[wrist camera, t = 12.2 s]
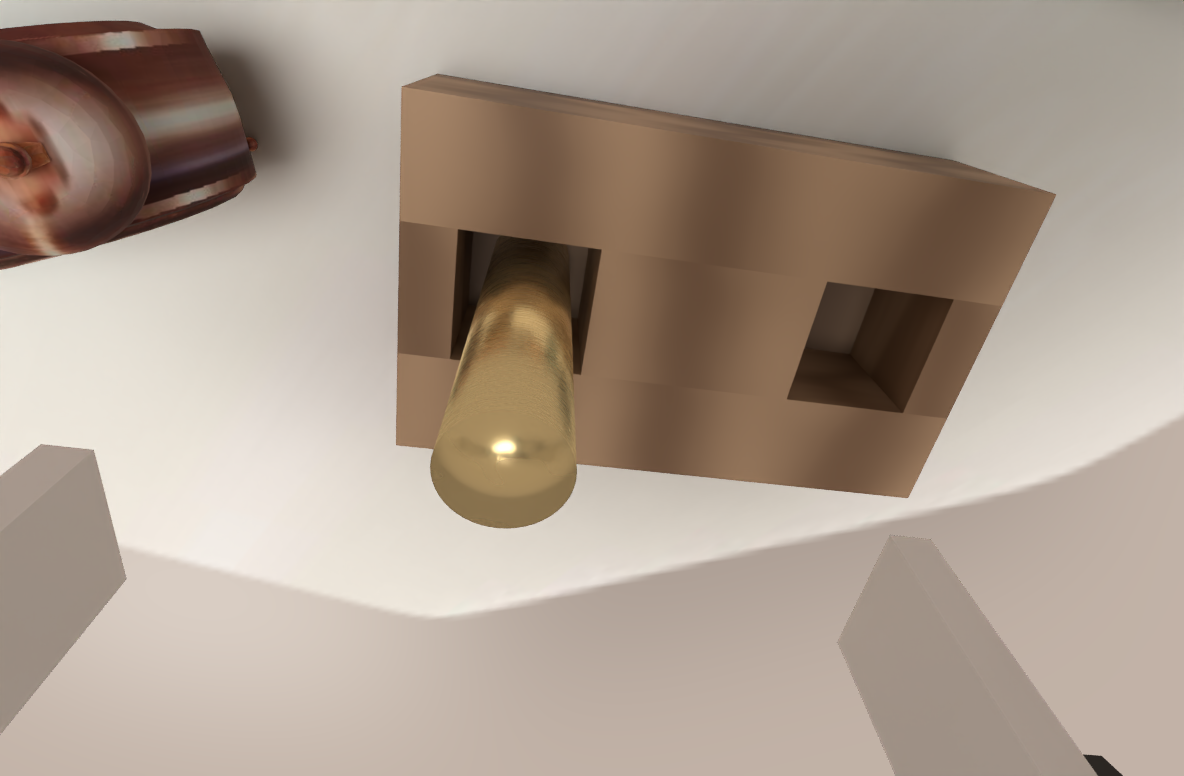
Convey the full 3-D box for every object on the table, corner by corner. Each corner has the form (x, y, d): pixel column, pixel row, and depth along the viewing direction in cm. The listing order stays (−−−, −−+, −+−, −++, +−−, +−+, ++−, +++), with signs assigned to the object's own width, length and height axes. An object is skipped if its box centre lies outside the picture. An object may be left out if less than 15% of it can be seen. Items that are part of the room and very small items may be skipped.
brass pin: (574, 226, 25) (586, 419, 13) (564, 299, 26) (566, 533, 14) (496, 215, 25) (433, 402, 13) (490, 289, 26) (428, 521, 14)
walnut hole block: (954, 160, 25) (1056, 194, 20) (849, 419, 31) (908, 498, 26) (437, 74, 23) (402, 86, 18) (425, 369, 29) (396, 445, 24)
